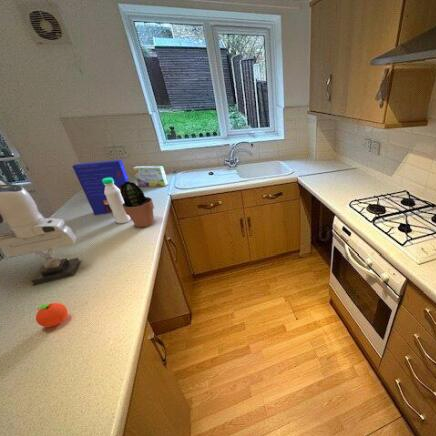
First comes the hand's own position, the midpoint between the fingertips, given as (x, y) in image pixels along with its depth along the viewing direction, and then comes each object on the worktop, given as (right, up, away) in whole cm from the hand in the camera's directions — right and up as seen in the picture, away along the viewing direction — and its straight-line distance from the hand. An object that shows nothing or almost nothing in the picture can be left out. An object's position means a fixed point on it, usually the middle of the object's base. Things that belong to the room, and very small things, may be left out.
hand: (50, 258), depth 94 cm
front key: (0, -3, +2) cm, 4 cm away
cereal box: (-14, +21, +55) cm, 61 cm away
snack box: (-13, +41, +93) cm, 103 cm away
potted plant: (+14, +13, +39) cm, 43 cm away
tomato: (+20, -17, -18) cm, 32 cm away
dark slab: (0, -6, +3) cm, 7 cm away
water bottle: (-1, +14, +42) cm, 44 cm away
